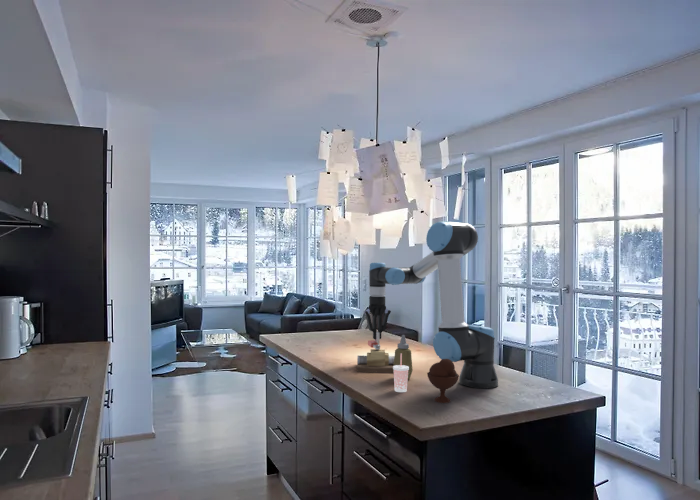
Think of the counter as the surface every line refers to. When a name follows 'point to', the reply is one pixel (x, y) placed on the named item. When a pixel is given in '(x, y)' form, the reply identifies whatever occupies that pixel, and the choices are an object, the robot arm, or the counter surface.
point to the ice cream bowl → (443, 378)
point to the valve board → (374, 368)
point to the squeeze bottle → (403, 355)
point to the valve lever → (374, 345)
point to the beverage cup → (400, 377)
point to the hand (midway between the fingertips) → (377, 346)
